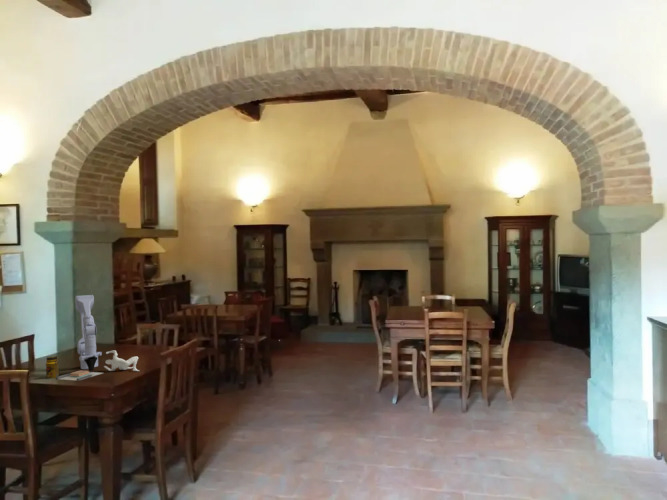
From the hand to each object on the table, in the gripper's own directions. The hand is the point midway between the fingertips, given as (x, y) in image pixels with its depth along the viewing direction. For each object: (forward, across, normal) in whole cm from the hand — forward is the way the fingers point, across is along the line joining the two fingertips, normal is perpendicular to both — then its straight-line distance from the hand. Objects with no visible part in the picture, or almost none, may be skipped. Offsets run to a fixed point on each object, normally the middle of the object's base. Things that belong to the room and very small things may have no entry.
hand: (91, 370), depth 300 cm
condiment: (+2, -14, +13) cm, 19 cm away
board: (+2, -9, -1) cm, 9 cm away
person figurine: (+2, +8, -15) cm, 17 cm away
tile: (0, -5, 0) cm, 5 cm away
